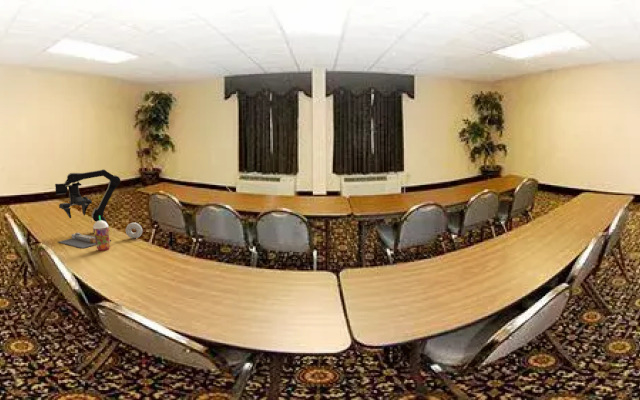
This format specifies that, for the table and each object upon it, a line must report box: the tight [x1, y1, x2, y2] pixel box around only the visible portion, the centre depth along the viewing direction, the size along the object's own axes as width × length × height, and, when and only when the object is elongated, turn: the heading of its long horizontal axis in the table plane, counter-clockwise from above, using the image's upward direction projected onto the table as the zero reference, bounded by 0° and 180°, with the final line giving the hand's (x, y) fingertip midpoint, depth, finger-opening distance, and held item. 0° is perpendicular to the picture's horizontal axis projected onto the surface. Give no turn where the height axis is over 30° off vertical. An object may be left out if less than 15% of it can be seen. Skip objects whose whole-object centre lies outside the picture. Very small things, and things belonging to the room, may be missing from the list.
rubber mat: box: [58, 234, 112, 250], centre depth 295 cm, size 18×27×1 cm, turn 55°
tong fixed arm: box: [71, 232, 96, 242], centre depth 296 cm, size 23×4×4 cm, turn 56°
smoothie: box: [92, 216, 111, 252], centre depth 275 cm, size 8×8×20 cm
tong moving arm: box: [76, 235, 96, 243], centre depth 294 cm, size 18×2×2 cm, turn 56°
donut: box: [125, 222, 143, 239], centre depth 298 cm, size 10×4×10 cm, turn 94°
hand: (77, 216), depth 310 cm, fingers open, 9 cm apart
